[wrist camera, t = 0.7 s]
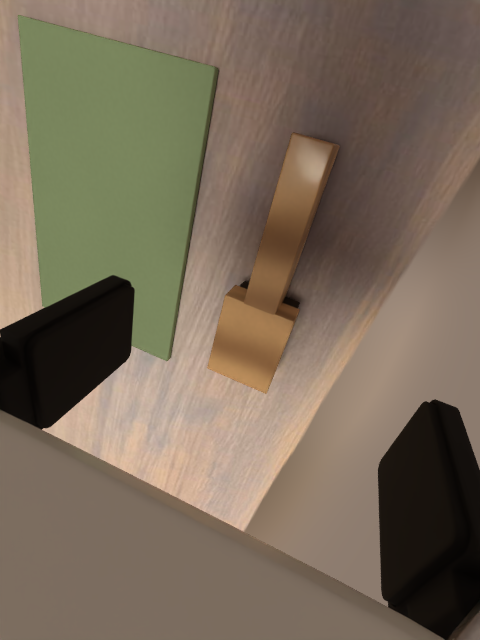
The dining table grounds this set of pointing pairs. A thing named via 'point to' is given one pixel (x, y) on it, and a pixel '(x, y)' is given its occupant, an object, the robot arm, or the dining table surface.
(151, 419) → the dining table surface
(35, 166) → the mat
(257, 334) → the wooden brush
